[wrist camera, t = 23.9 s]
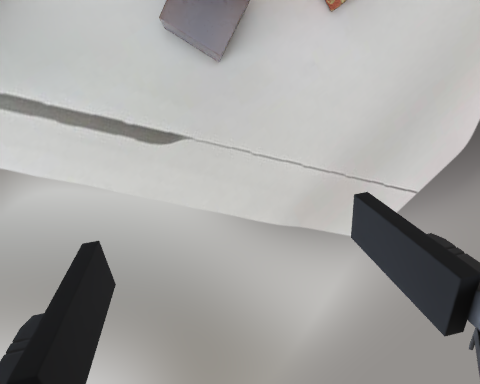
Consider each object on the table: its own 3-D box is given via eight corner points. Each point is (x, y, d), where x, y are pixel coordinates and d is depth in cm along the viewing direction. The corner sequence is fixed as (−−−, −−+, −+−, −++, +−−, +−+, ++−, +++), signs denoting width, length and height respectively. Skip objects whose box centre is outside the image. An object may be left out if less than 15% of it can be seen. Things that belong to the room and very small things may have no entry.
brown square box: (164, 28, 38) (158, 17, 33) (192, -35, 36) (190, -55, 31) (219, 61, 40) (221, 56, 35) (248, 4, 38) (254, -10, 33)
